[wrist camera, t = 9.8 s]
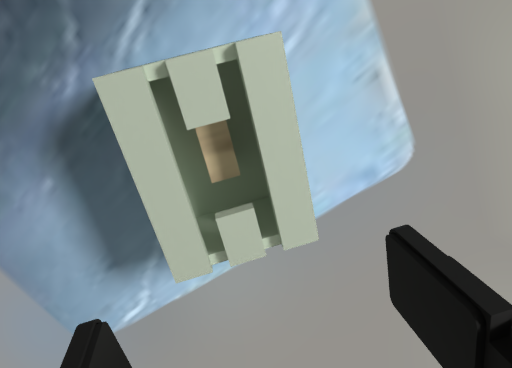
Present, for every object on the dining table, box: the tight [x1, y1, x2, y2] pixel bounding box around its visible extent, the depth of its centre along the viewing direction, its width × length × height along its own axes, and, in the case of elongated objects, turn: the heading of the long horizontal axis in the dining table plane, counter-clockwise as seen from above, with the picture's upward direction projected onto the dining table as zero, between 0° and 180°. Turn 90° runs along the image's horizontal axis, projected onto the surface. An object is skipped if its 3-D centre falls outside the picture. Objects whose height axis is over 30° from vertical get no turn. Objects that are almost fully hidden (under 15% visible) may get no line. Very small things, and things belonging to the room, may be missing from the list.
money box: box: [92, 31, 319, 283], centre depth 28 cm, size 16×12×9 cm
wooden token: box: [195, 120, 240, 183], centre depth 30 cm, size 4×2×5 cm
